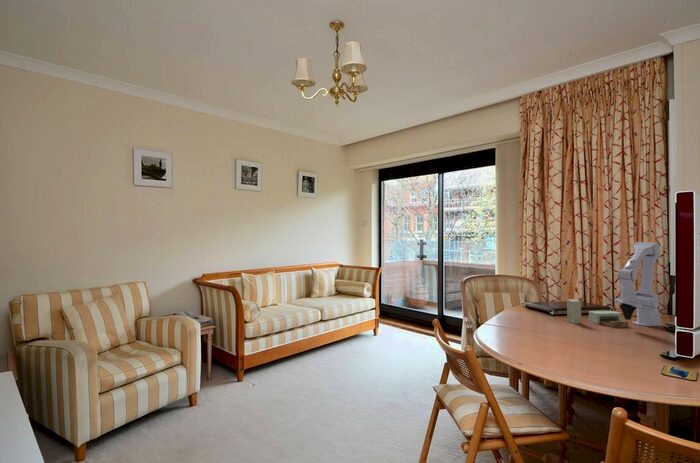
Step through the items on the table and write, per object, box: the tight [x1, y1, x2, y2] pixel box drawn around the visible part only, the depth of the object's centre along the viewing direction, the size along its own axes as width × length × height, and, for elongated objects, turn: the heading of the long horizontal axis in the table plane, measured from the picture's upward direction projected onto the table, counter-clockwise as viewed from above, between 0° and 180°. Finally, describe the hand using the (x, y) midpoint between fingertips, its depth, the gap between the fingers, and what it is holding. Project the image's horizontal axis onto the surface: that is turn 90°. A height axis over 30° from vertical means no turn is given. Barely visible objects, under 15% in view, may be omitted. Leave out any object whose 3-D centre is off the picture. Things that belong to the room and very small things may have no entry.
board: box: [599, 319, 629, 328], centre depth 192 cm, size 9×12×3 cm
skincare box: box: [566, 298, 582, 325], centre depth 195 cm, size 6×4×12 cm
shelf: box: [588, 310, 622, 325], centre depth 196 cm, size 14×6×6 cm, turn 94°
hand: (627, 319), depth 181 cm, fingers closed
